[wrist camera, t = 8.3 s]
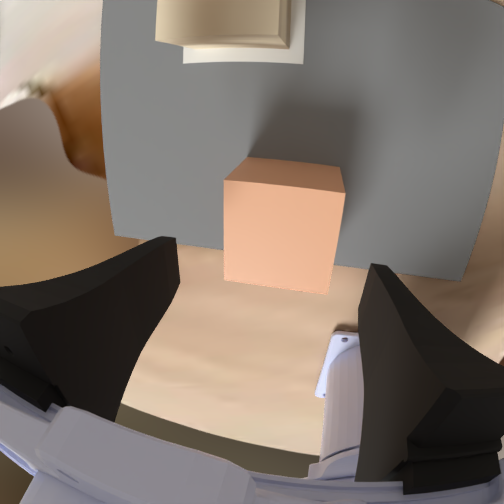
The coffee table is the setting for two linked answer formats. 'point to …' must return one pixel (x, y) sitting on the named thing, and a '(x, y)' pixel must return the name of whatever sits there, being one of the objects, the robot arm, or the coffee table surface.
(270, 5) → the birch block
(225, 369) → the coffee table surface
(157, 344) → the coffee table surface
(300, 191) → the terracotta block
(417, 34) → the build mat
